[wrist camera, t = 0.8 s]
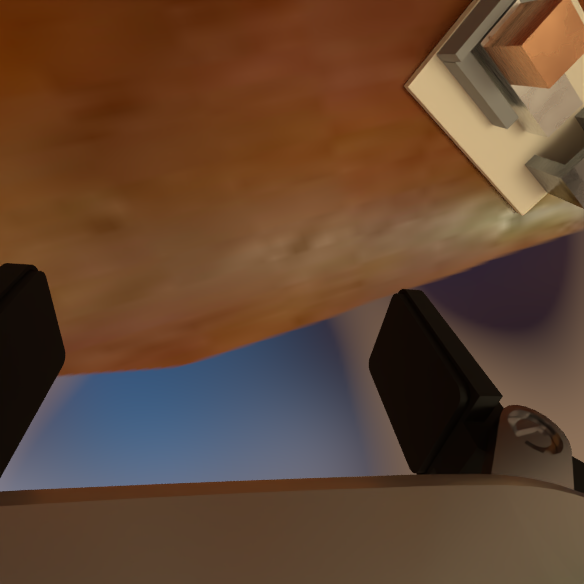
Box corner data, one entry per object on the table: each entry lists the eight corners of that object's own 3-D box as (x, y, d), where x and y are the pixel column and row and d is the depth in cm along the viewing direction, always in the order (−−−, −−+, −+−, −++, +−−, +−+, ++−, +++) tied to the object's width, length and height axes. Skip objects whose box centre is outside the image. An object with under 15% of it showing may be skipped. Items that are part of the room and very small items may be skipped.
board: (529, -70, 27) (572, -88, 24) (627, 111, 36) (669, 117, 32) (403, 86, 32) (424, 90, 28) (516, 212, 40) (543, 227, 37)
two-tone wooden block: (493, 3, 28) (564, -11, 22) (557, 100, 33) (630, 110, 27) (459, 44, 30) (518, 40, 23) (525, 131, 34) (588, 148, 28)
